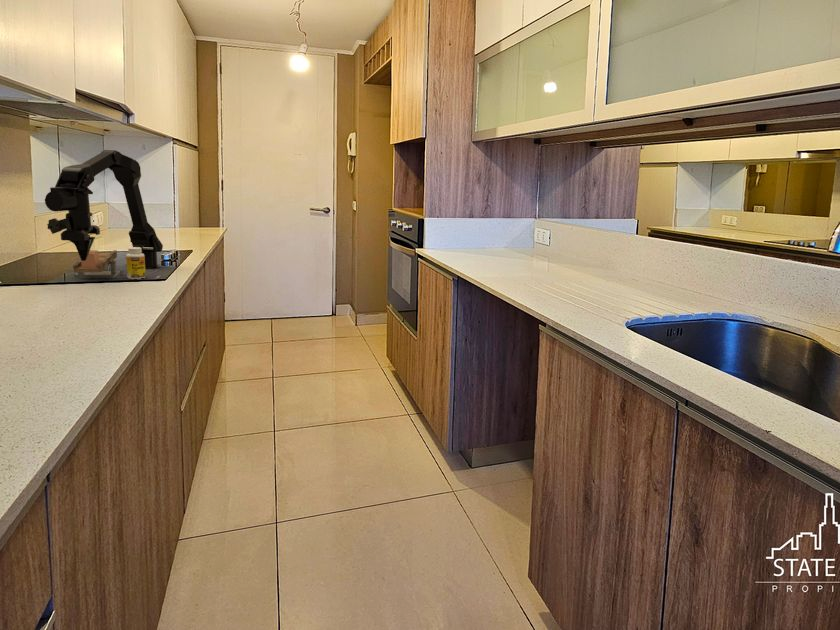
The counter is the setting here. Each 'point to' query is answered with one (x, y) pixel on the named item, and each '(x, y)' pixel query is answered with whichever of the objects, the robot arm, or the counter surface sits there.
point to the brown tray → (103, 260)
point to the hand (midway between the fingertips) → (83, 260)
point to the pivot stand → (99, 273)
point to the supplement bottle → (135, 263)
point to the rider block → (91, 259)
